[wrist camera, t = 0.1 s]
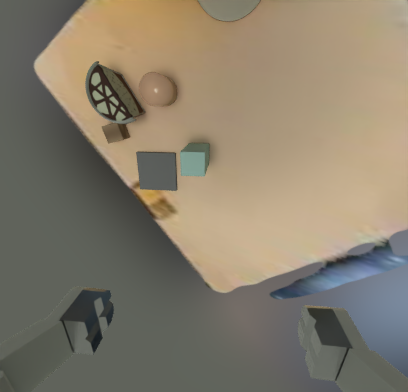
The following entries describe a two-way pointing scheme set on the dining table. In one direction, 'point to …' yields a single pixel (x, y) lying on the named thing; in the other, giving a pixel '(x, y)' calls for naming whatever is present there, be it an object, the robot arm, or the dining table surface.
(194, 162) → the tall green rectangular block
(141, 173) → the mat
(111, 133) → the walnut cube
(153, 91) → the tan rounded cylinder
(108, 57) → the dining table surface
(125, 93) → the food container
